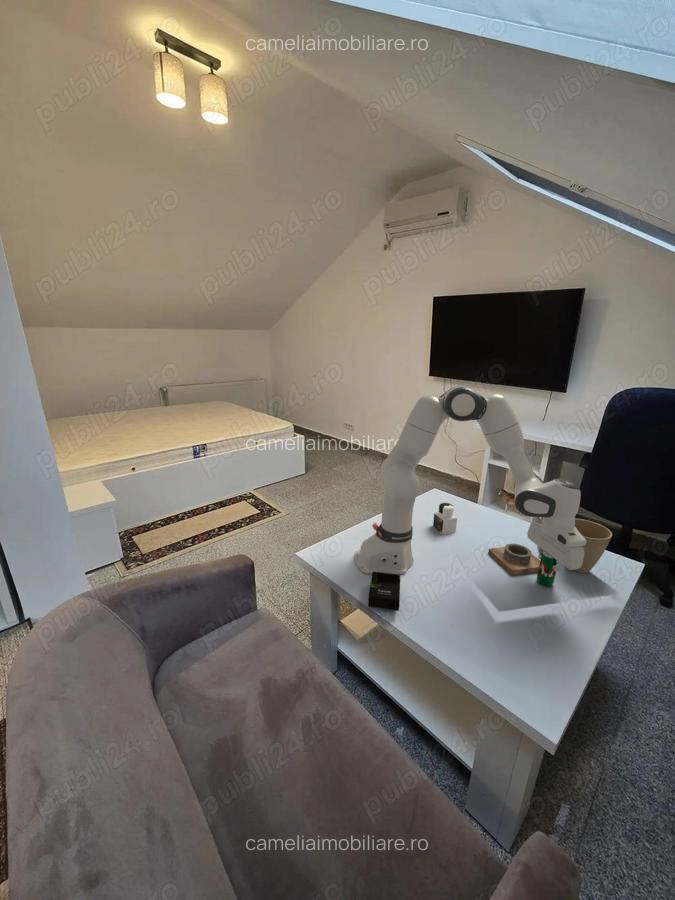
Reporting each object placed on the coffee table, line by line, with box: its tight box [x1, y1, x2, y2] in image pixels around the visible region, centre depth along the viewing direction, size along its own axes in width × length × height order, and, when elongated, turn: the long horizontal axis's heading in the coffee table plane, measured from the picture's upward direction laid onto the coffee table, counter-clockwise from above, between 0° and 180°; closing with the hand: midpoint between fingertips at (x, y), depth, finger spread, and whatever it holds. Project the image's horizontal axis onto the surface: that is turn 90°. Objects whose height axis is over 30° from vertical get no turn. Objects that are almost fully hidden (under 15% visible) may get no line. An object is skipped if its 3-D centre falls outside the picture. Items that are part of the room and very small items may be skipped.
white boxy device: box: [432, 502, 458, 535], centre depth 155 cm, size 7×7×12 cm
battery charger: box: [367, 572, 401, 612], centre depth 116 cm, size 13×10×4 cm
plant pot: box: [573, 518, 613, 574], centre depth 129 cm, size 15×15×16 cm
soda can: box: [536, 550, 558, 587], centre depth 121 cm, size 5×5×12 cm
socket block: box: [487, 543, 541, 576], centre depth 134 cm, size 14×14×5 cm
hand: (548, 564), depth 120 cm, fingers closed on soda can, 5 cm apart
